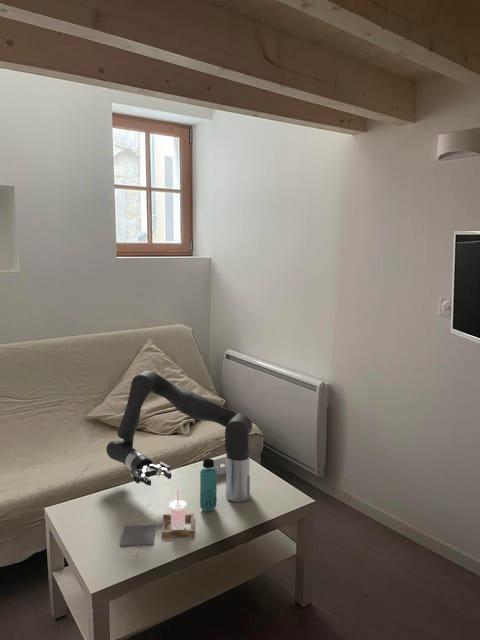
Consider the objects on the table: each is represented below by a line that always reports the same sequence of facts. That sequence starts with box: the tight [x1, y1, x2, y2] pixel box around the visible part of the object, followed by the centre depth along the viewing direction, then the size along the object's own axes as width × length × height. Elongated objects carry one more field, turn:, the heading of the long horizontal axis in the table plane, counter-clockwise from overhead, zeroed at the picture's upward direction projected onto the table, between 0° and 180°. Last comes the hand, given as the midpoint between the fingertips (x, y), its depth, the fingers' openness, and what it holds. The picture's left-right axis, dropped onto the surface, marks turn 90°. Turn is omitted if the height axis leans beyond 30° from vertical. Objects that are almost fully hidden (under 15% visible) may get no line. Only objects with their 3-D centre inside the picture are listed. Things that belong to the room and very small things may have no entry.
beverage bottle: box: [199, 458, 218, 512], centre depth 184 cm, size 6×7×20 cm
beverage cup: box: [168, 490, 187, 530], centre depth 173 cm, size 6×6×14 cm
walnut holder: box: [161, 513, 195, 539], centre depth 174 cm, size 11×11×2 cm
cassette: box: [211, 455, 227, 477], centre depth 215 cm, size 12×2×8 cm, turn 123°
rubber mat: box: [119, 524, 157, 547], centre depth 169 cm, size 11×11×1 cm
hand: (160, 479), depth 180 cm, fingers open, 8 cm apart
